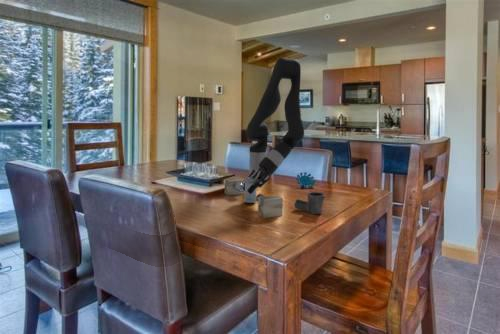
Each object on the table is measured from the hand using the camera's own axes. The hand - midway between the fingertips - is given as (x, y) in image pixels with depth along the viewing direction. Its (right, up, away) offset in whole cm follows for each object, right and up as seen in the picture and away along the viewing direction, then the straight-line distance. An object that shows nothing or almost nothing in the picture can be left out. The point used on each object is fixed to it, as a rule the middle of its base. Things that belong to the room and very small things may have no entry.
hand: (246, 191), depth 153 cm
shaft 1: (-4, -1, +13) cm, 13 cm away
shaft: (+7, -5, -10) cm, 13 cm away
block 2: (+9, -8, -15) cm, 20 cm away
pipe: (+25, -8, -11) cm, 29 cm away
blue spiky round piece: (+31, -1, +34) cm, 46 cm away
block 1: (-6, -3, +19) cm, 20 cm away
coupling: (+2, -5, +2) cm, 5 cm away
